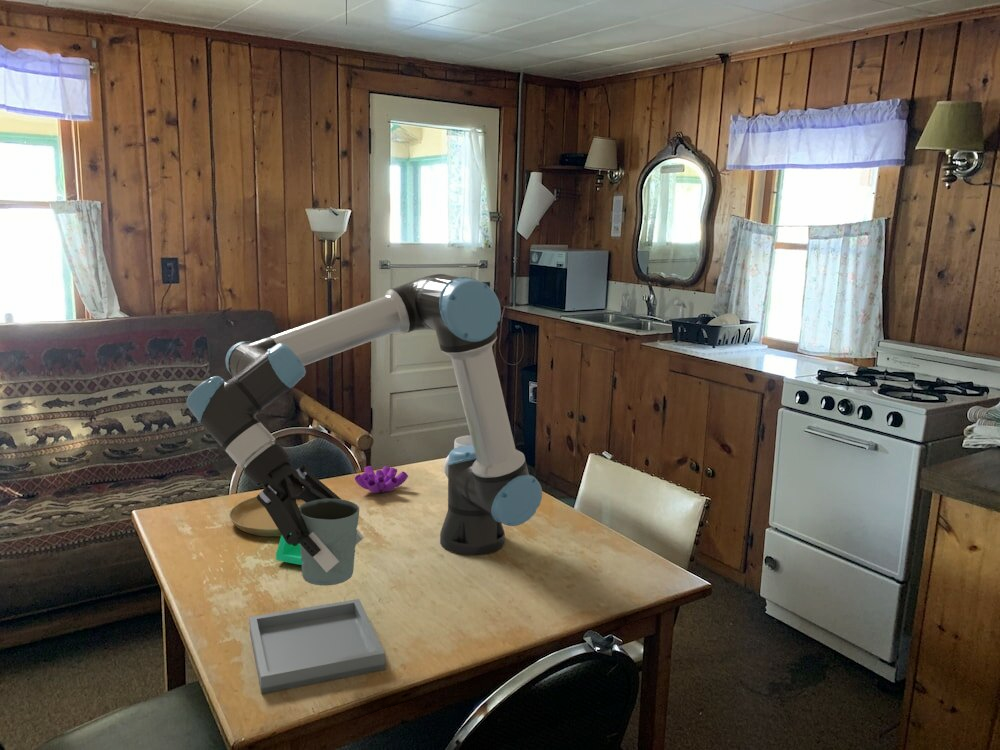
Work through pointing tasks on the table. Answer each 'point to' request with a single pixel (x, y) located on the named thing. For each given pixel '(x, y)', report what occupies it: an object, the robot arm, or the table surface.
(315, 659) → the tray
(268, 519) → the plant saucer
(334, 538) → the grey green cup
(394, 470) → the purple coral
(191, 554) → the table surface
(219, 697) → the table surface
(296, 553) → the camera mount
